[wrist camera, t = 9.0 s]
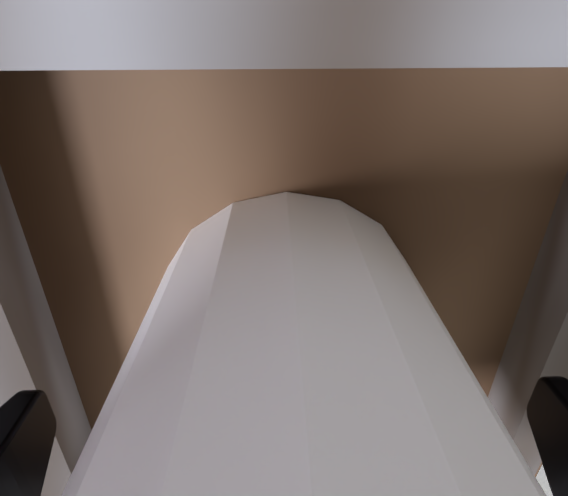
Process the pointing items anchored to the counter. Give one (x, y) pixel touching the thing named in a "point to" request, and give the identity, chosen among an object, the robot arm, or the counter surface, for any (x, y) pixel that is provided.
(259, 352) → the shot glass
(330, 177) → the brown square tray
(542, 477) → the counter surface
